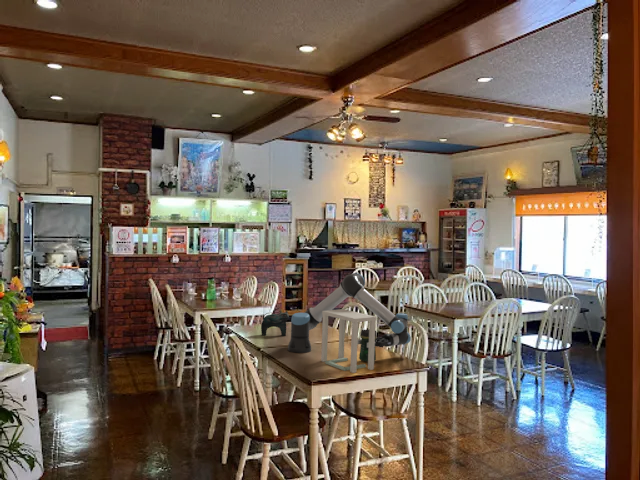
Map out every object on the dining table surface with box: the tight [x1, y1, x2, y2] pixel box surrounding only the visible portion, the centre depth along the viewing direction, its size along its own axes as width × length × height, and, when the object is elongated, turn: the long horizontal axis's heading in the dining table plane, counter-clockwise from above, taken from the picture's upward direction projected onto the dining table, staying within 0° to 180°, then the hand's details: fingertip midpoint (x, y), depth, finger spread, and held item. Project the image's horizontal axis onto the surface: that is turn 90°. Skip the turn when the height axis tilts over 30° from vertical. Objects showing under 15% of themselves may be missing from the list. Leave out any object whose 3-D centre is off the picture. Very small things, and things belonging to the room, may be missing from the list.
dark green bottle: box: [358, 329, 378, 363], centre depth 308 cm, size 10×8×19 cm
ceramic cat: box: [260, 307, 290, 337], centre depth 374 cm, size 20×6×20 cm, turn 92°
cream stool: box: [320, 308, 377, 374], centre depth 298 cm, size 17×30×30 cm, turn 37°
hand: (362, 343), depth 305 cm, fingers closed on dark green bottle, 8 cm apart
